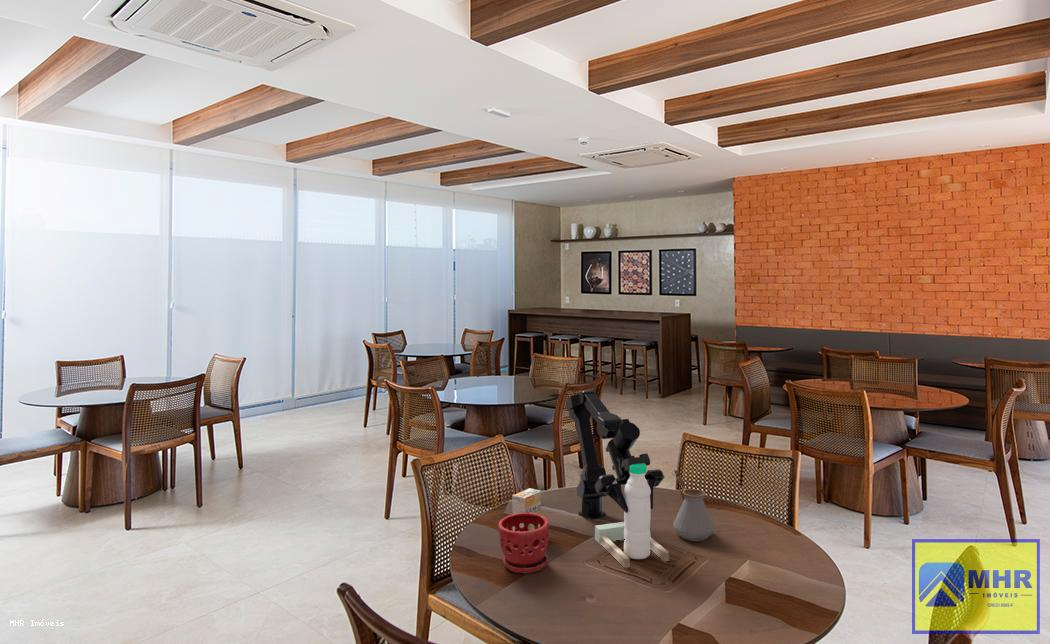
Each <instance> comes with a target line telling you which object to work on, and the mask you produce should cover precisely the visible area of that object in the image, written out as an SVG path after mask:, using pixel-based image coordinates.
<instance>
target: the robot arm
mask: <svg viewBox="0 0 1050 644" xmlns="http://www.w3.org/2000/svg"><path fill="white" fill-rule="evenodd" d="M565 406H566V410H568V415H569V417H570V418H571V419H572V421H573V422H574V423H575V425H576V426H575V427H576V432H577V437H578V443H579V444H578V445H579V448H580V453H581V454H580V455H581V459H582V465H583V468H582V470H581V472H580V475H579V476H580V481H579V483H578V485H577V486H576V495H577V496H578V497H579V498H581V511H579V512H578V514H577V515H578V516H582V517H585V518H588V519H591V520H596V519H597V520H598V518H601V517H603V516H605V515H606V514H607V513H606V512H605V511H603V505H602V503H603V497H607V496H608V497H610V498H611V499H612V500H613V501H614V502H616V504H617V505H618V506H619V507H620V509H622V511H623V512H624V511H625V513H627V512H628V508H627V504H626V502H625V495H624V494H623V491H622V486H625V485H626V483H627V481H628V479H629V477H630V473H629V470H630V465H633V464H641V463H644V464H646V467H648V466H650V465H651V459H650V457H649V454H648V453H641V454H639V456H635V455H632V454H631V450H630V449H632V448H633V447H634V445H635V443H636V442H637V441H638V439H639V438H640V435H641V431H640V428H639V426H637V425H636V424H635V423H634V422H631V421H630V419H629V418H624V419H623V418H621V417H620V416H619V415H618V414H615V413H613V412H610V411H609V409H608V408H607V407H606V405H605V404H604V402H602V400H601V399H600V398H599V396H598V393H597V391H596V390H582V391H581V392H579V393H576V394H574V395H570V396H568V398H567V399H566V400H565ZM591 417H592V418H593V420H595V422H596V423H597V426H596V430H597V431H596V432H597V434H598V436H600V439H602V440H608V439H609V441H608V442H607V444H606V448H605V451H606V453H609V457H610V460H611V461H612V462H611V463H612V466H611V468H612V471H614V472H615V475H616V477H615V475H613V473H612V474H611V473H610V474H607V471H606V470H607V469H606V468H605V467H602V466H601V465H600V464H599V460H598V456H597V450H596V445H595V440H594V434H593V429H592V424H591ZM645 478H646V480H647V483H648V485H649V487H650V490H651V494H650V505H651V511H652V510H653V508H654V488H656V487H658V486H659V485H660V484H661V482H663V480H664V479H665V475H664V473H663V471H662V470H661V469H657V468H656V469H647V470H646V474H645Z"/></svg>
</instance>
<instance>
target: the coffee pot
mask: <svg viewBox="0 0 1050 644" xmlns="http://www.w3.org/2000/svg"><path fill="white" fill-rule="evenodd" d="M673 472H674V474H673ZM671 475H672V476H674V475H675V477H676V478H677V481H678V483H679V485H680V487H681V488H682V489H683V490H682V495H684V496H683V497H684V499H683V501H682V504H681V505H680V508H679V510H678V513H677V515H676V517H675V518H674V522H673V528H674V530H675V532H676V533H677V534H678V535H679V536H680V537H681V538H682V539H684V540H687V541H690V542H702V541H705V540H707V539H708V538H710V537H711V536H712V534H713V533H714V531H715V525H714V523H713V520H712V519H711V516H710V514H709V511H708V509H707V506H706V504H705V501H704V497H705V496H706V493H707V492H706V491H704V490H702V489H696V488H688V489H687V488H686V485H685V483H684V480H683V478H681V475H680V472H679V471H678V470H676V469H674V470H672V472H671Z"/></svg>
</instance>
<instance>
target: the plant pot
mask: <svg viewBox="0 0 1050 644" xmlns="http://www.w3.org/2000/svg"><path fill="white" fill-rule="evenodd" d="M521 523H523V524H524V527H522V528H521V527H520V526H519V525H520V524H521ZM529 524H533V525H534V527H535V530H532V531H530V530H529V529H528V525H529ZM538 524H540V526H541V527H540V528H539V527H538ZM513 526H514V527H515V530H514V531H513ZM517 531H519V532H517ZM549 536H550V526H549V521H548V518H547V517H545V516H544V515H542V514H541V515H539V514H534V513H518V514H513V513H512V514H510V515H507V516H505V517H503V518H501V519H500V521H498V538H499V544H500V548H501V551H502V554H503V556H504V557H503V564H504V566H505V567H506V569H508V570H510V571H512V572H514V573H518V574H530V573H531V574H532V573H534V572H538V571H540V570H542V569H543V568H545V566H546V565H547V563H548V560H549V558H548V557H549V556H548V555H547V550H548V545H549V538H550V537H549Z"/></svg>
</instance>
